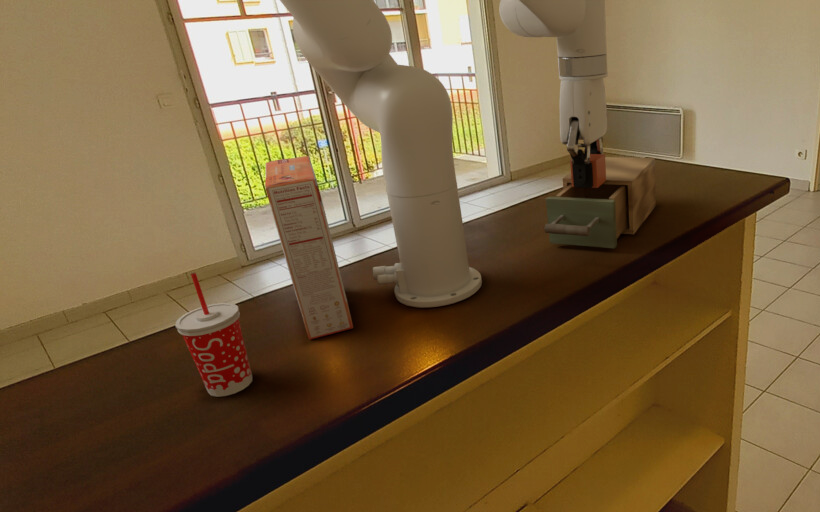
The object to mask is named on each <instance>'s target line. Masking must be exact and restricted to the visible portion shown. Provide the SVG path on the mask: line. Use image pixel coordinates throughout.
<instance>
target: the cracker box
mask: <svg viewBox="0 0 820 512" xmlns="http://www.w3.org/2000/svg"><path fill="white" fill-rule="evenodd" d="M264 183H265V184H264V188H265V192H266V195H267V199H268V202H269V203H268V204H269V207H270V209H271V214H272V217H273V221H274V224H275V228H276V231H277V235H278V238H279V241H280V245H281V248H282V252H283V256H284V259H285V263H286V266H287V269H288V273H289V277H290V279H291V283H292V287H293V290H294V293H295V296H296V300H297V304H298V306H299V310H300V313H301V316H302V321H303V325H304V328H305V331H306V334H307V337H308V340H314V339H319V338H322V337H325V336H328V335H333V334H337V333H341V332H344V331H345V332H346V331H349V330H352V329H354V325H353V321H352V315H351V311H350V307H349V303H348V299H347V294H346V291H345V287H344V283H343V279H342V278H343V277H342V274H341V271H340V267H339V266H340V265H339V262H338V259H337V254H336V250H335V246H334V242H333V238H332V233H331V231H330V227H329V222H328V218H327V214H326V210H325V206H324V203H323V198H322V195H321V191H320V187H319V184H318V180H317V177H316V174H315V170H314V167H313V164H312V162H311V158H310V156H309V155H304V156H298V157H291V158H290V157H289V158H281V159H275V160H271V161H267V162H265V182H264Z"/></svg>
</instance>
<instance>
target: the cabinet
mask: <svg viewBox="0 0 820 512" xmlns="http://www.w3.org/2000/svg"><path fill="white" fill-rule="evenodd" d="M605 164H606V181H605V182H604V183H603V184H609V185H628V207H629V225H628V226H627V227H626V228H625V230H624V231H623V232H622V233H621V234H620V235H635V233H636V232H637V231H638V230H639V229H640V227H641V226H642V224H643V223H644V222H645V221H646V220H647V218H648V217H649V216H650V214H651V213H652V212H653V210H654V209H655V208H656V206H657V203H656V202H657V200H656V198H657V195H656V158H655V157H631V156H630V157H629V156H628V157H625V156H619V157H618V156H605ZM571 183H572V182H571V171H570V172H569V173H568V174H566V175H565V176H563V177H562V190H564V189H565V188H566V187H568V186H569V185H570V184H571Z"/></svg>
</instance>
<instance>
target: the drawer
mask: <svg viewBox="0 0 820 512" xmlns="http://www.w3.org/2000/svg"><path fill="white" fill-rule="evenodd" d="M545 204H546V214H547V223H545V225H544V233H545V234H548V237H549V244H555V245H567V246H580V247H581V246H582V247H591V248H604V249H616V248H617V247H618V238H619V237H620V236H621V235H622V234H621V233H622V232H623V231H624V230H625V228H626V227H627V226H628V225H629V207H628V185H609V184H602V185H600V186H599V187H598V188H580V187H572V183H571V184H570V185H569V186H568V187H566V188H565V189H564V190H563V189H562V190H561V191H560V192H558V193H557V194H556V195H555V196H548V197H546V198H545Z"/></svg>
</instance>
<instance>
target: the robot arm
mask: <svg viewBox="0 0 820 512" xmlns="http://www.w3.org/2000/svg"><path fill="white" fill-rule="evenodd" d="M279 1H280V3H281V4H282V5H283V6H284V7H285V9H286V10H287V11H288V12H289V13H290V15H291V16H292V33H293V37H294V40H295V44H296V45H297V47H298V49H299V50H300V52H301V54H302V55H303V57H304V58H305V60H306V62H307V63H308V64H309V65H310V66H311V67H312V68H313V70H314V71H315V72H316V73H317V74H318V76H319V77H320V78H321V80H323V81H324V83H325V84H326V85H327V86H328V87H329V88H330V89H331V91H332V92H333V93H334V95H336V97H337V98H338V99H339V100H340V101H341V102H342V103H343V105H344V106H345V107H346V108H347V109H348V110H349V111H350V113H352V114H353V116H354V117H355V118H356V119H357V120H358V121H360V123H362V124H363V125H364V126H366V127H367V128H369V129H371V130H372V131H375V132H378V133H379V134H380V144H381V145H380V149H381V150H380V153H381V168H382V175H383V181H384V186H385V192H386V196H387V201H388V206H389V211H390V216H391V221H392V227H393V232H394V237H395V242H396V247H397V251H398V252H397V253H398V258H399V262H395V263H394V265H389V266H387V265H381V266H380V265H379V266H373V267H372V277H373V279H374V281H376V280H377V284H378V285H388V284H395V286H394V288H393V289H394V295H395V298H396V300H397V301H398V302H399V303H401V304H402V305H405V306H407V307H412V308H421V309H423V308H428V309H429V308H438V307H444V306H449V305H452V304H456V303H459V302H461V301H464V300H466V299H468V298H470V297H472V296H473V295H474V294H476V293H477V292H478V291H479V290H480V289H481V287H482V284H483V279H482V275H481V272H479V271H478V270H477V269H475V268H474V267H470V265H469V256H468V250H467V242H466V236H465V230H464V223H463V216H462V209H461V201H460V194H459V189H458V188H459V187H458V181H457V175H456V168H455V159H454V148H453V126H454V125H453V122H454V121H453V120H454V118H453V117H454V116H453V105H452V101H451V98H450V95H449V92H448V91H447V89H446V87H445V86H444V84H443V83H442V81H441V80H440V79H439V78H438V77H436V76H435V75H434V74H433V73H431V72H430V71H428V70H425V69H424V68H420V67H418V66H413V65H404V64H398V63H397V62H396V60H395V59H394V58H393V57H392V55H391V53H390V52H391V50H392V45H393V34H392V29H391V25H390V24H389V22H388V19H387V18H386V15H385V14H384V13H383V12H382V10H381V9H380V7H379V6H378V4H377V3H376V2H375V1H374V0H279ZM498 8H499V9H498V12H499V16H500V20H501V22H502V24H503V25H504V27H505V28H506V29H507V30H508V31H510V32H511V33H512V34H514V35H515V36H516V35H517V36H519V37H524V38H556V51H557V63H558V64H557V65H558V79H559V81H560V87H559V107H558V108H559V110H558V111H559V140H560V143H561V144H562V145H565V146H566V150H567V152H568V153H569V155H570V157H571V158H570V160H571V163H572V168H573V184H574V187H580V188H591V187H593V171H592V163H590V154H604V148H603V147H604V146H603V142H604V141H603V140H604V138H603V136H605V135H606V133H607V131H608V108H607V96H606V87H605V79H604V78H607V77H608V54H607V50H608V49H607V26H606V21H607V20H606V0H500V1H499V6H498ZM579 141H582V142H583V143H582V142H579ZM582 148H584V149H582Z"/></svg>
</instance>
